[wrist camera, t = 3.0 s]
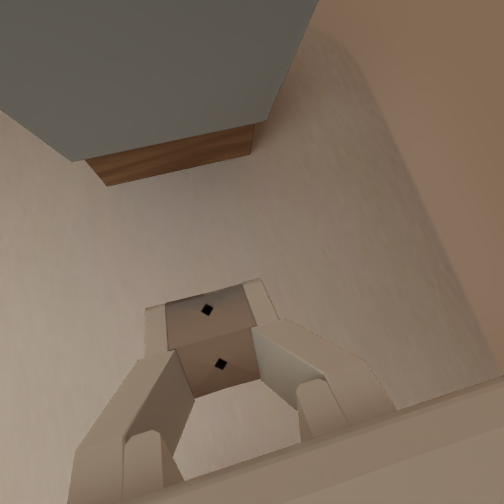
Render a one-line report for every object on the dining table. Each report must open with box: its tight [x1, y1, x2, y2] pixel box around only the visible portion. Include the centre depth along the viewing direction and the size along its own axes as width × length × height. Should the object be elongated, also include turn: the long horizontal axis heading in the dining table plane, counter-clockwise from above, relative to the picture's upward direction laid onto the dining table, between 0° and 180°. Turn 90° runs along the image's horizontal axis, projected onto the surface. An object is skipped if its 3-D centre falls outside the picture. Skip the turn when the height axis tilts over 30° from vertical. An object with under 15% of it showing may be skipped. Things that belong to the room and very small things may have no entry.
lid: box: [0, 0, 319, 162], centre depth 20 cm, size 17×15×1 cm
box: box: [85, 123, 255, 186], centre depth 33 cm, size 16×14×8 cm
